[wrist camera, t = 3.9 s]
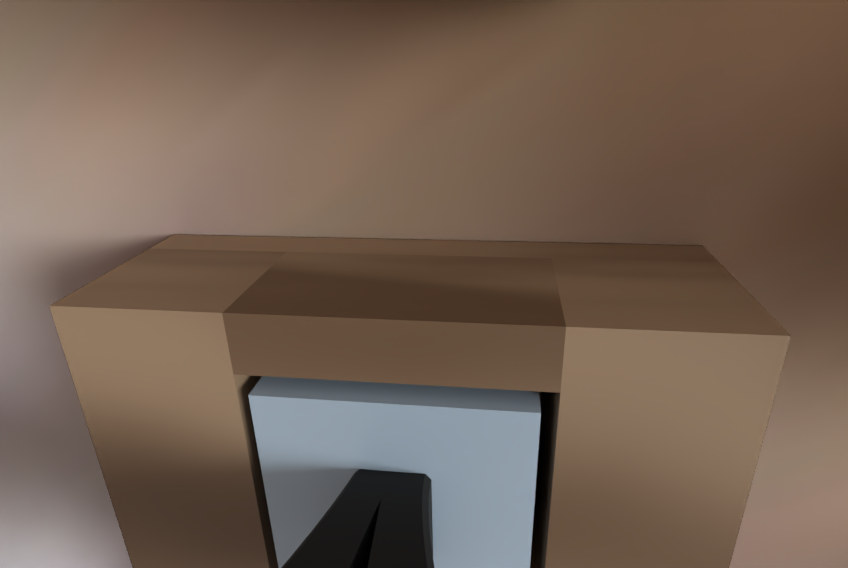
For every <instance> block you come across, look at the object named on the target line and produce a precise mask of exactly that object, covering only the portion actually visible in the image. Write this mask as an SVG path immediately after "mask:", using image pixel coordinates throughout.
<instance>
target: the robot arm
mask: <svg viewBox="0 0 848 568" xmlns="http://www.w3.org/2000/svg"><path fill="white" fill-rule="evenodd" d="M281 568H434V561H433V526H432V483H431V479H430V478H429V477H428V476H427V475H426V474H420V473H406V472H393V471H380V470H367V469H359V470H358V471H357V472H355V473H354V474H353V476H352V477H351V479H350V480H349V482H348V483H347V485H346V486H345V487H344V489H343V490H342V492H341V493H340V494H339V496H338V497H337V498H336V500H335V501H334V503H333V504H332V505H331V507H330V508H329V509H328V511H327V512H326V513H325V514H324V516H323V517H322V518H321V520H320V521H319V522H318V524H317V525H316V526H315V527H314V529H313V530H312V531H311V532H310V534H309V535H308V536H307V537H306V538H305V540H304V541H303V542H302V543H301V545H300V546H299V547H298V548H297V549H296V551H295V552H294V553H293V554H292V556H291V557H290V558H289V559H288V560H287V562H286V563H285V564H284V565H283V566H282V567H281Z"/></svg>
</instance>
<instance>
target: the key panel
mask: <svg viewBox="0 0 848 568" xmlns="http://www.w3.org/2000/svg"><path fill="white" fill-rule="evenodd" d="M49 307H50V310H51V313H52V317H53V320H54V323H55V326H56V329H57V332H58V335H59V338H60V342H61V345H62V348H63V351H64V354H65V357H66V360H67V363H68V367H69V370H70V373H71V376H72V379H73V382H74V385H75V388H76V392H77V395H78V398H79V401H80V404H81V407H82V410H83V413H84V417H85V420H86V423H87V426H88V429H89V432H90V435H91V439H92V442H93V445H94V448H95V451H96V454H97V457H98V460H99V464H100V467H101V470H102V473H103V476H104V479H105V482H106V485H107V489H108V492H109V495H110V498H111V501H112V504H113V507H114V510H115V514H116V517H117V520H118V523H119V526H120V529H121V532H122V535H123V539H124V542H125V545H126V548H127V551H128V554H129V557H130V560H131V564H132V567H133V568H279V567H278V562H277V556H276V550H275V545H274V539H273V533H272V528H271V522H270V516H269V511H268V505H267V499H266V494H265V488H264V482H263V477H262V471H261V465H260V459H259V454H258V448H257V442H256V437H255V431H254V425H253V420H252V414H251V408H250V403H249V397H248V395H249V394H250V392H251V391H252V389H253V388H254V387H255V385H256V384H257V383H258V381H259V380H260V379H261V377H262V376H270V377H288V378H306V379H324V380H342V381H359V382H377V383H395V384H413V385H431V386H449V387H467V388H484V389H502V390H520V391H538V392H539V397H540V408H541V421H540V435H539V449H538V462H537V476H536V490H535V504H534V518H533V532H532V546H531V560H530V568H729V566H730V562H731V559H732V555H733V551H734V547H735V544H736V540H737V536H738V532H739V529H740V525H741V521H742V518H743V514H744V510H745V506H746V503H747V499H748V495H749V491H750V488H751V484H752V480H753V476H754V473H755V469H756V465H757V462H758V458H759V454H760V450H761V447H762V443H763V439H764V435H765V432H766V428H767V424H768V420H769V417H770V413H771V409H772V406H773V402H774V398H775V394H776V391H777V387H778V383H779V379H780V376H781V372H782V368H783V365H784V361H785V357H786V353H787V350H788V346H789V342H790V338H791V335H790V334H789V333H788V332H787V331H786V330H785V329H784V328H783V327H782V326H781V325H780V324H779V323H778V322H777V321H776V320H775V319H774V318H773V317H772V316H771V315H770V314H769V313H768V312H767V311H766V310H765V309H764V308H763V307H762V306H761V305H760V304H759V303H758V302H757V301H756V300H755V299H754V298H753V297H752V296H751V295H750V293H749V292H748V291H747V290H746V289H745V288H744V287H743V286H742V285H741V284H740V283H739V282H738V281H737V280H736V279H735V278H734V277H733V276H732V275H731V274H730V273H729V272H728V271H727V270H726V269H725V268H724V267H723V266H722V265H721V264H720V263H719V262H718V261H717V260H716V259H715V258H714V257H713V256H712V255H711V254H710V253H709V252H708V251H707V250H706V249H705V248H704V247H703V246H699V245H651V244H603V243H555V242H508V241H460V240H412V239H364V238H317V237H269V236H221V235H172V236H170V237H169V238H167V239H165V240H163V241H162V242H160V243H158V244H156V245H155V246H153V247H151V248H149V249H148V250H146V251H144V252H142V253H141V254H139V255H137V256H135V257H134V258H132V259H130V260H128V261H127V262H125V263H123V264H121V265H120V266H118V267H116V268H114V269H113V270H111V271H109V272H107V273H106V274H104V275H102V276H100V277H99V278H97V279H95V280H94V281H92V282H90V283H88V284H87V285H85V286H83V287H81V288H80V289H78V290H76V291H74V292H73V293H71V294H69V295H67V296H66V297H64V298H62V299H60V300H59V301H57V302H55V303H53V304H52V305H50V306H49Z"/></svg>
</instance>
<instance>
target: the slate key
mask: <svg viewBox="0 0 848 568" xmlns="http://www.w3.org/2000/svg"><path fill="white" fill-rule="evenodd" d="M248 397H249V403H250V408H251V414H252V420H253V425H254V431H255V437H256V442H257V448H258V454H259V459H260V465H261V471H262V477H263V482H264V488H265V494H266V499H267V505H268V511H269V516H270V522H271V528H272V533H273V539H274V545H275V550H276V556H277V562H278V567H279V568H281V567H282V566H283V565H284V564H285V563H286V562H287V560H288V559H289V558H290V557H291V556H292V554H293V553H294V552H295V551H296V549H297V548H298V547H299V546H300V545H301V543H302V542H303V541H304V540H305V538H306V537H307V536H308V535H309V534H310V532H311V531H312V530H313V529H314V527H315V526H316V525H317V524H318V522H319V521H320V520H321V518H322V517H323V516H324V514H325V513H326V512H327V511H328V509H329V508H330V507H331V505H332V504H333V503H334V501H335V500H336V498H337V497H338V496H339V494H340V493H341V492H342V490H343V489H344V487H345V486H346V485H347V483H348V482H349V480H350V479H351V477H352V476H353V474H354V473H355V472H357V471H358V470H359V469H367V470H380V471H393V472H406V473H420V474H426V475H427V476H428V477H429V478H430V479H431V483H432V526H433V561H434V568H530V560H531V546H532V532H533V518H534V504H535V490H536V476H537V462H538V449H539V435H540V421H541V408H540V397H539V392H538V391H520V390H502V389H484V388H467V387H449V386H431V385H413V384H395V383H377V382H359V381H342V380H324V379H306V378H288V377H270V376H262V377H261V379H260V380H259V381H258V383H257V384H256V385H255V387H254V388H253V389H252V391H251V392H250V394H249V395H248Z"/></svg>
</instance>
